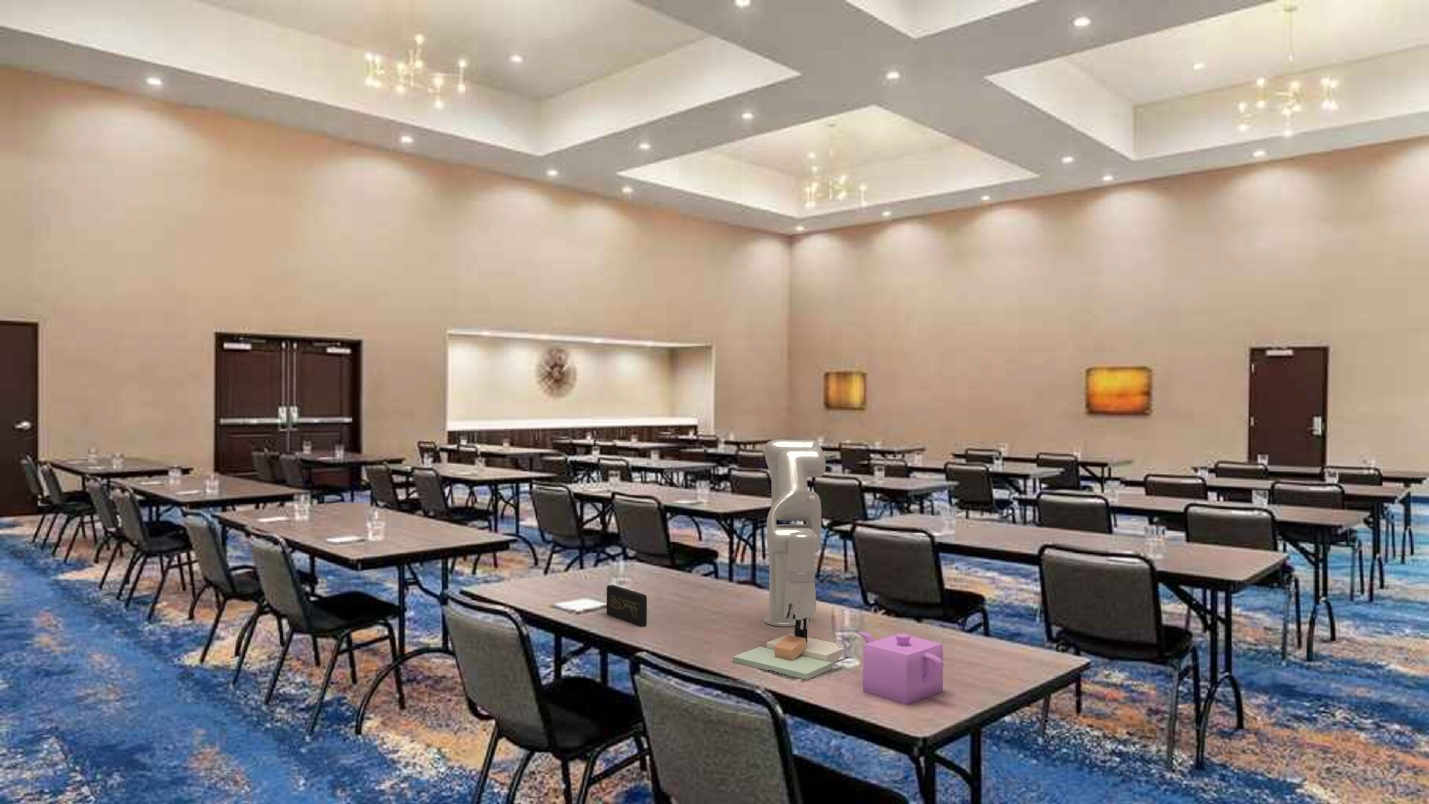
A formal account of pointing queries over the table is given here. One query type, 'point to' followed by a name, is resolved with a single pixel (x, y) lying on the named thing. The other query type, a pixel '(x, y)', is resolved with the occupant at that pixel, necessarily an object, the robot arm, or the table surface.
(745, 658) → the sage mat
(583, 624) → the table surface
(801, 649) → the terracotta tile
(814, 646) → the plate
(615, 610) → the nameplate
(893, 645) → the teapot
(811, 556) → the robot arm
